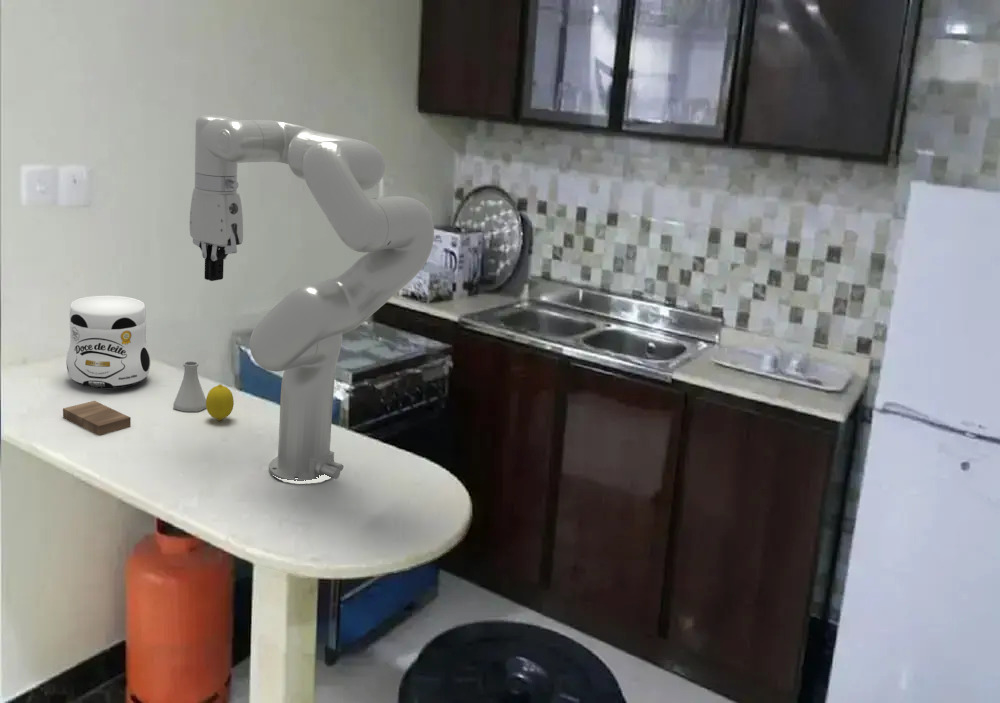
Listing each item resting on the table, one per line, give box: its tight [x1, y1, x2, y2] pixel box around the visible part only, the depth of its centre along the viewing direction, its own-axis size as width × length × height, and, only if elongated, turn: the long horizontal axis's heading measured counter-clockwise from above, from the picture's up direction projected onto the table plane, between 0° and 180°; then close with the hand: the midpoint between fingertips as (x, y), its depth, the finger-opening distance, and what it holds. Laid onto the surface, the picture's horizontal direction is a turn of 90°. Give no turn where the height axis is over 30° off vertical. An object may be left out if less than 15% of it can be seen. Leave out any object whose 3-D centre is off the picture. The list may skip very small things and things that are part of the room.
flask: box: [172, 360, 207, 412], centre depth 199 cm, size 7×7×10 cm
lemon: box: [205, 384, 235, 422], centre depth 193 cm, size 6×6×8 cm
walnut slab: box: [62, 400, 132, 437], centre depth 187 cm, size 2×7×12 cm
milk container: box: [65, 294, 151, 390], centre depth 206 cm, size 17×17×18 cm
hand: (213, 279), depth 178 cm, fingers closed
